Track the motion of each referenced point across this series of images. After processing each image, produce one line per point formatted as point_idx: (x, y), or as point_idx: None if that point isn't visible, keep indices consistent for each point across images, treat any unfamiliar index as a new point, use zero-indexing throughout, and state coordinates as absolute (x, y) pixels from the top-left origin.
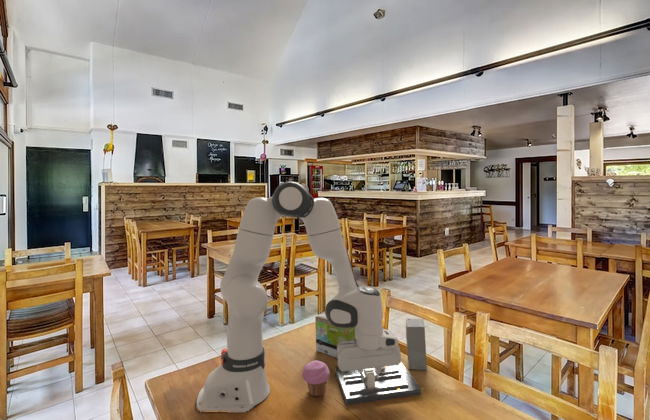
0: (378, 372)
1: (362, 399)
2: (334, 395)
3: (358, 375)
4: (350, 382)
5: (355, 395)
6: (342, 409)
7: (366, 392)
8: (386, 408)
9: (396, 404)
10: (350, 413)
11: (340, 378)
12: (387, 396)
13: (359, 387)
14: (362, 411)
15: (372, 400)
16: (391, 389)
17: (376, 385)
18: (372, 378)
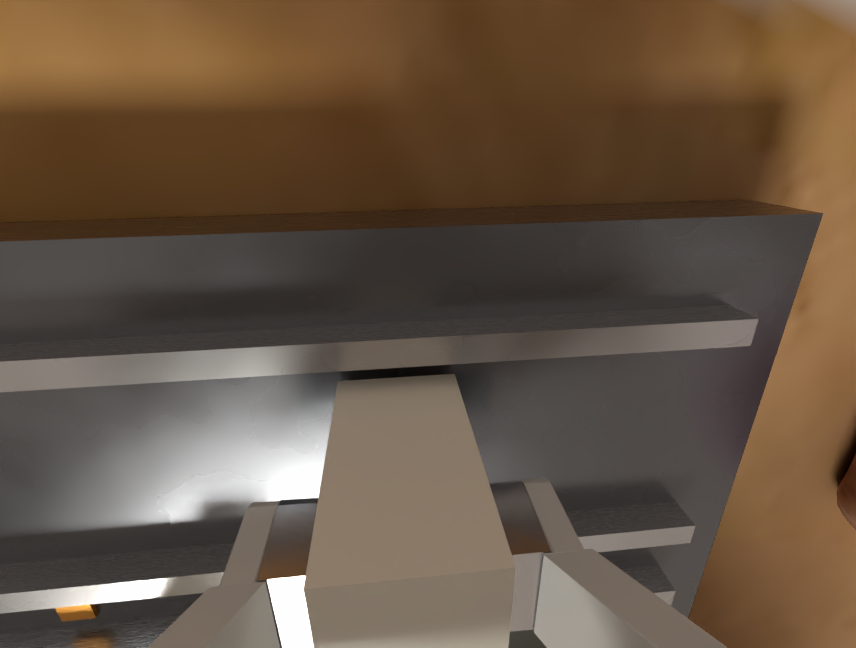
0: (191, 642)
1: (566, 215)
2: (783, 379)
3: None
4: (623, 511)
5: (670, 265)
6: (831, 124)
7: (492, 307)
8: (245, 6)
9: (63, 74)
10: (783, 12)
11: (687, 578)
12: (177, 227)
13: (548, 420)
14: (616, 18)
15: (416, 211)
16: (68, 322)
17: (302, 434)
18: (377, 494)
